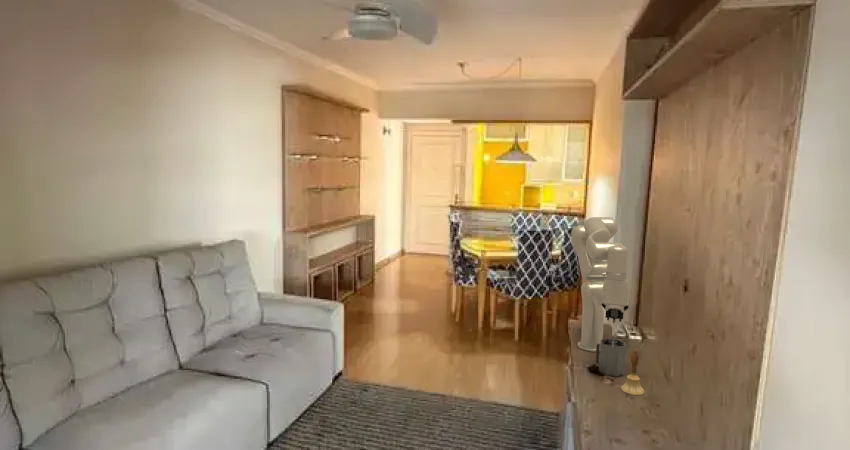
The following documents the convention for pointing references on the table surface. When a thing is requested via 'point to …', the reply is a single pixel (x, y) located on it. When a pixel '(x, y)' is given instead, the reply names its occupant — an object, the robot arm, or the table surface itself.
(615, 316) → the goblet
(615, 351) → the grey octagonal cup
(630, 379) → the hand bell
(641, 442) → the table surface
